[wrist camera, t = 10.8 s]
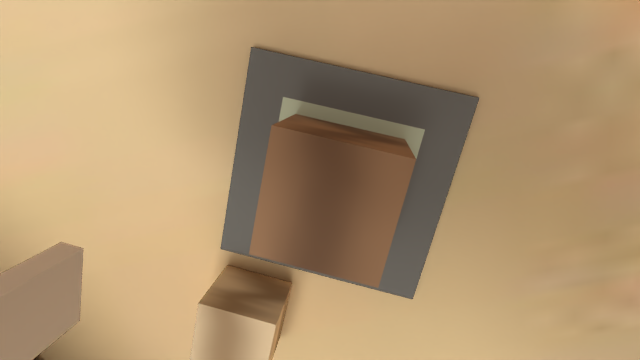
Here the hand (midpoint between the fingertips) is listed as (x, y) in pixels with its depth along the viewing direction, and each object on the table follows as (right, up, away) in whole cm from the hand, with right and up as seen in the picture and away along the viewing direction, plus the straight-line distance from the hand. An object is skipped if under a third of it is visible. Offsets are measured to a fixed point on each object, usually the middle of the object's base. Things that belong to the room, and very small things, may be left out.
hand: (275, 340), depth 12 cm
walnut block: (+3, +5, +13) cm, 14 cm away
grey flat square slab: (+3, +5, +13) cm, 14 cm away
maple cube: (-4, -4, +17) cm, 18 cm away
